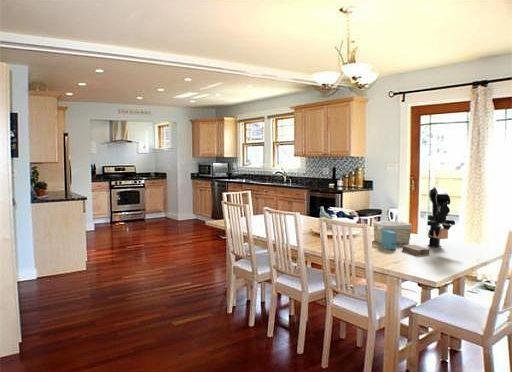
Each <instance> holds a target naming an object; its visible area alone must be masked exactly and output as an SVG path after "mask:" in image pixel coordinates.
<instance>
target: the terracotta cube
mask: <svg viewBox="0 0 512 372" xmlns="http://www.w3.org/2000/svg"><path fill="white" fill-rule="evenodd" d="M434 238H438V239H440V240H446V239H449V230H448V229H444V228H443V227H441V228H440V231H439V235H438V236H436V234H435V231H434Z"/></svg>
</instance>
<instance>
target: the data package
mask: <svg viewBox="0 0 512 372" xmlns="http://www.w3.org/2000/svg"><path fill="white" fill-rule="evenodd" d="M380 245H381V247H382V248H384V249H387V250H389V251H391V250H393V251H394V250H397V234H396V232H393V231H390V230H382V237H381V243H380Z"/></svg>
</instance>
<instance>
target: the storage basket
mask: <svg viewBox="0 0 512 372" xmlns="http://www.w3.org/2000/svg"><path fill="white" fill-rule="evenodd" d="M412 229H413V224H412V223H409V222H406V221H402V220H400V221H399V220H389V221H388V220H386V221H384V220H383V221H381V220H379V221H373V241H375V242H377V243H380V244H381V237H382V230H390V231H393V232H396V234H397V244H398V245H399V244H410V240H411V234H412ZM397 244H396V245H397Z"/></svg>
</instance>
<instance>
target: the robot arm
mask: <svg viewBox="0 0 512 372" xmlns="http://www.w3.org/2000/svg"><path fill="white" fill-rule="evenodd" d="M428 197H429V201H430V202H431V204H432V206H431V207H432V211H431V214H429V215H427V220H428V221H427V222H426V223H427V226H429V230H428V234H427V237H428V239H429V240H428V241H429V243H428V244H427V247H432V248H441V247H442V246H441V239H438V238H434V231H435V234H436V236H438V235H439V231H440V228H444V229H448V231H449V230H450V229H451V227H453V226H455V225H456V221H455V220H453V219H447V217H448V216H449V213H450V207H449V206H448V205H451V197H450V195H449V194H448V193H447V192H444V191H443V187H442V186H434V187H433V188H431V189H430V190H429V192H428Z"/></svg>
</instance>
